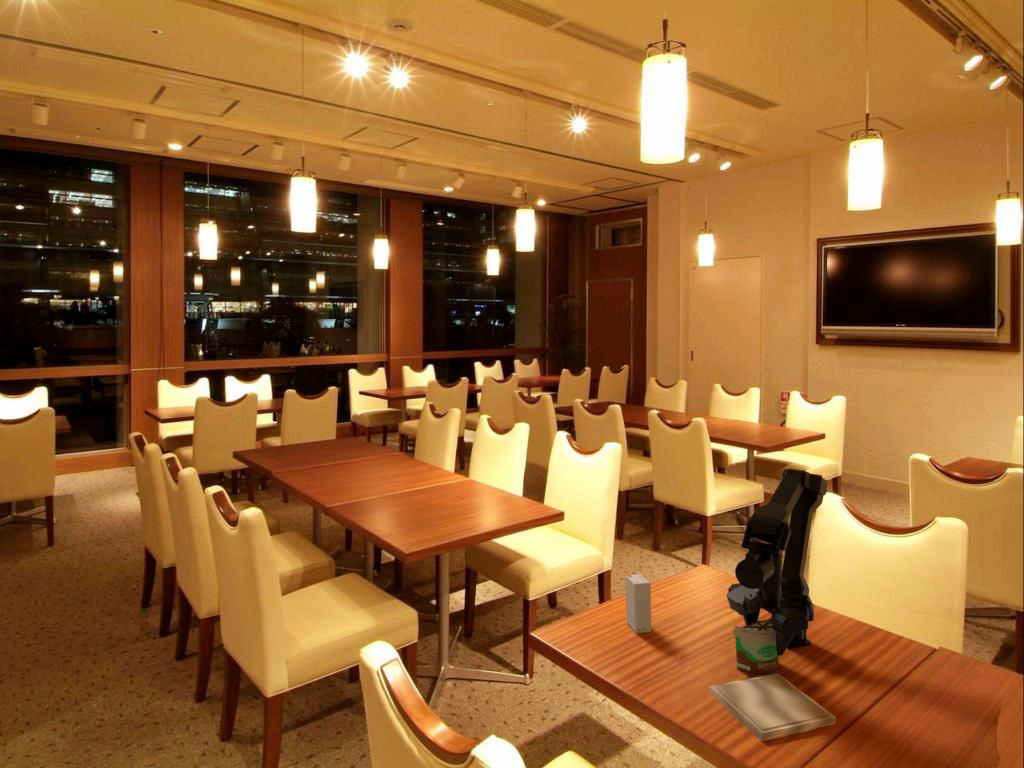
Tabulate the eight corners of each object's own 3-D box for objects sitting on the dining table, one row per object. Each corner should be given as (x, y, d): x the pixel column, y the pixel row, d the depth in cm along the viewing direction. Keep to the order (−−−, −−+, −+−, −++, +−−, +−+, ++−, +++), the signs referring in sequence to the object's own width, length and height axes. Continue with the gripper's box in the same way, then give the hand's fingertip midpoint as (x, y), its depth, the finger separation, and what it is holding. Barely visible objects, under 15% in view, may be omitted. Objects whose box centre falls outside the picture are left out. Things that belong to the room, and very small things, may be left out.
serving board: (777, 682, 138) (777, 672, 138) (835, 727, 123) (835, 716, 122) (709, 695, 133) (709, 685, 133) (761, 744, 118) (761, 732, 118)
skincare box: (652, 632, 159) (652, 582, 158) (634, 634, 158) (634, 584, 157) (641, 620, 165) (642, 573, 164) (624, 622, 164) (624, 574, 163)
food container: (754, 684, 136) (756, 637, 135) (731, 670, 142) (733, 625, 141) (796, 669, 142) (798, 624, 141) (773, 656, 147) (774, 612, 146)
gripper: (707, 562, 146) (706, 630, 148) (763, 596, 128) (761, 673, 130) (751, 556, 149) (749, 623, 151) (811, 588, 132) (808, 664, 133)
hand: (765, 644), depth 141 cm, fingers open, 9 cm apart
